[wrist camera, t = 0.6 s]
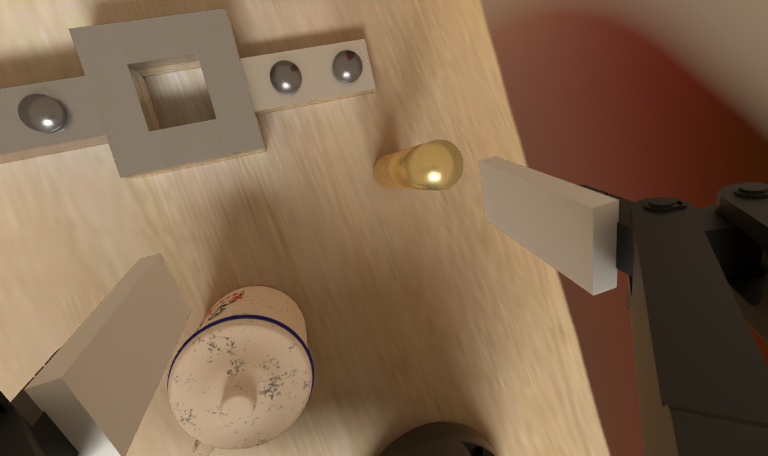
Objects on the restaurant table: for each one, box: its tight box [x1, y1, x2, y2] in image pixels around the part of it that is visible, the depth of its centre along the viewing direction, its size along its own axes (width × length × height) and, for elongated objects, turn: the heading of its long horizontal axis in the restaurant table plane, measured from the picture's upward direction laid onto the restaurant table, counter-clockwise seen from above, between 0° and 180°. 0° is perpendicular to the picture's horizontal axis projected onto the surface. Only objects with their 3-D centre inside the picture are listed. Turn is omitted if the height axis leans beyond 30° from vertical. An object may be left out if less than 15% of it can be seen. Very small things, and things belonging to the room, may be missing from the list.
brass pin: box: [373, 140, 463, 190], centre depth 28 cm, size 3×3×12 cm
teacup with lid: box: [167, 286, 314, 456], centre depth 27 cm, size 12×9×12 cm
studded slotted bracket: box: [0, 8, 376, 178], centre depth 28 cm, size 10×30×4 cm, turn 103°
